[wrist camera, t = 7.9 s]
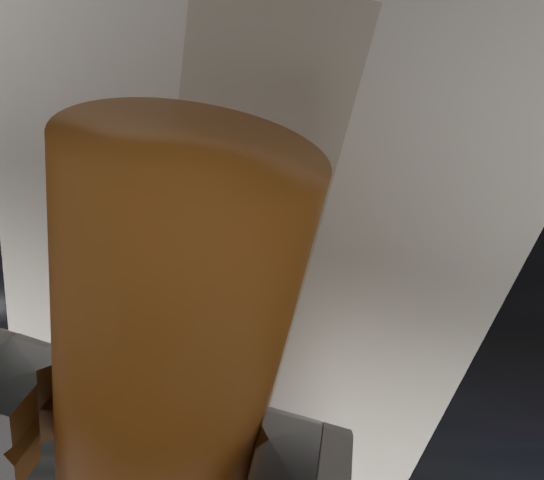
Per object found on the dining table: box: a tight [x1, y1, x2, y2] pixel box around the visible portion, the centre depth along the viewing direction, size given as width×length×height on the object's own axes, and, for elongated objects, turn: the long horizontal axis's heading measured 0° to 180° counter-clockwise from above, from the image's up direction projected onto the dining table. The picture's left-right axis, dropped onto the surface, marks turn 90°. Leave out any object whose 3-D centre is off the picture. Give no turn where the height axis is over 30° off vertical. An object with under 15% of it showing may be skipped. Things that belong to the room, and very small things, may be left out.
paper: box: [0, 0, 544, 480], centre depth 14 cm, size 16×14×1 cm
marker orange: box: [44, 97, 332, 480], centre depth 9 cm, size 12×4×4 cm, turn 169°
